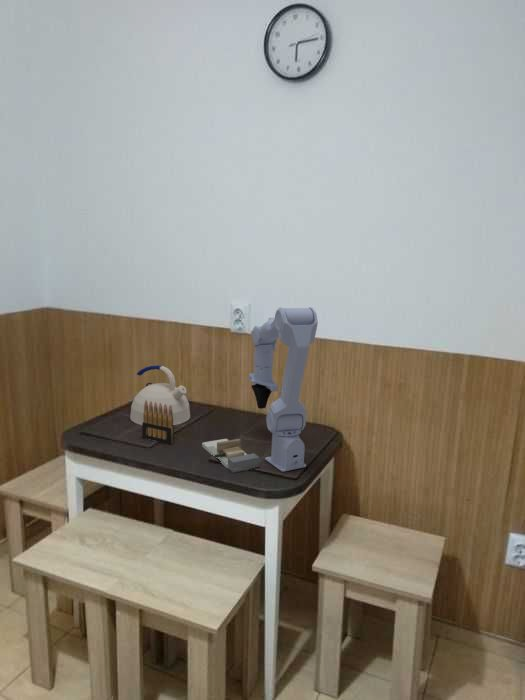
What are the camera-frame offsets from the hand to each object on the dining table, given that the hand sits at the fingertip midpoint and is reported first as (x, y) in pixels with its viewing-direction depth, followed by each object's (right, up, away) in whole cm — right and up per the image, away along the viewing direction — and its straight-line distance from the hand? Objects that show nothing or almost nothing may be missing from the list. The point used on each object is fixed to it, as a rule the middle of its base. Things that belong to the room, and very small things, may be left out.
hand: (261, 407), depth 167 cm
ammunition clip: (-31, -10, -5) cm, 33 cm away
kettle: (-34, -5, +16) cm, 38 cm away
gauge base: (-9, -12, -14) cm, 21 cm away
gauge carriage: (-9, -11, -17) cm, 22 cm away
